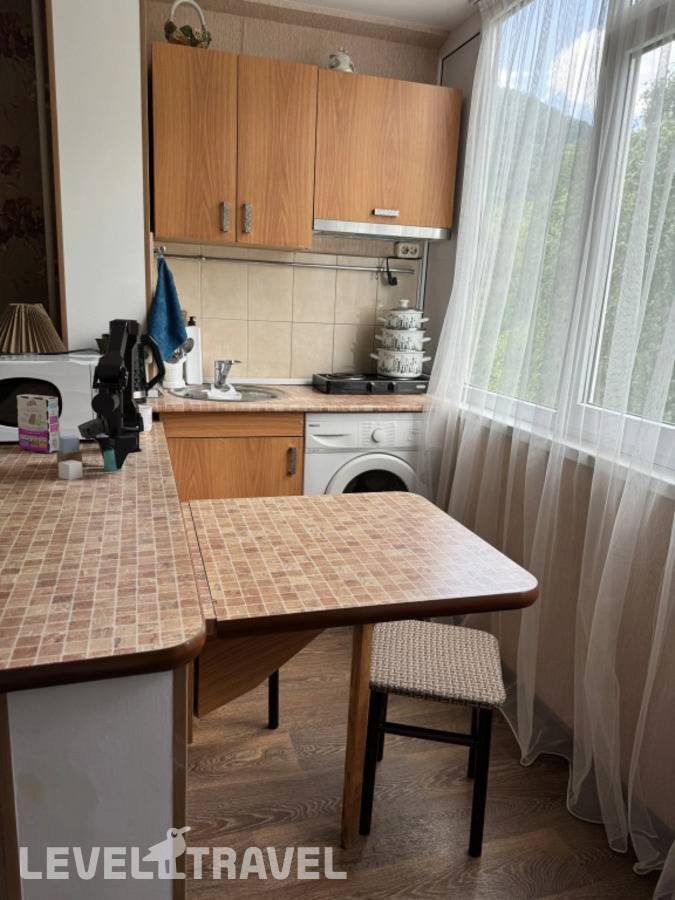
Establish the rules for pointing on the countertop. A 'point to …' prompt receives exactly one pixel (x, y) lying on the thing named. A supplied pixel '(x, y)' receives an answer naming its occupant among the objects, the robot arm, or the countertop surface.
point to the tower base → (68, 456)
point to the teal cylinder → (109, 461)
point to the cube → (70, 469)
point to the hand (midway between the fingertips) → (112, 465)
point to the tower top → (68, 444)
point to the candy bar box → (38, 423)
